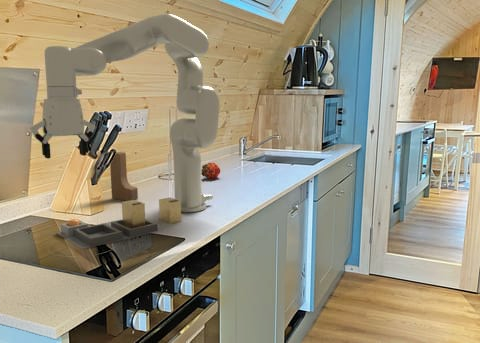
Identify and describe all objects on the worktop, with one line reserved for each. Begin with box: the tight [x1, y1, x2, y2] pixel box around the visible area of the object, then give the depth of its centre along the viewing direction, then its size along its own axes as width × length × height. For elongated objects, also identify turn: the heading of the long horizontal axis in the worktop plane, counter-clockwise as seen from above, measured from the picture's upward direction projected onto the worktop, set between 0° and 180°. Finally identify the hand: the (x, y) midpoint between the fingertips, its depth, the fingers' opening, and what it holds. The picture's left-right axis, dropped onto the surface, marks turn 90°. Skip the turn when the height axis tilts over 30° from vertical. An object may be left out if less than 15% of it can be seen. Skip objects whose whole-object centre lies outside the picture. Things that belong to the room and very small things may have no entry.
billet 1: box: [121, 199, 146, 229], centre depth 132 cm, size 4×6×8 cm, turn 42°
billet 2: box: [158, 197, 182, 225], centre depth 141 cm, size 4×6×8 cm, turn 42°
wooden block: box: [109, 151, 139, 201], centre depth 175 cm, size 9×4×18 cm, turn 70°
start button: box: [68, 218, 80, 226], centre depth 130 cm, size 3×3×2 cm
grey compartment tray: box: [56, 218, 163, 250], centre depth 131 cm, size 24×18×4 cm
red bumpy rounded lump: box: [201, 162, 221, 180], centre depth 216 cm, size 8×8×12 cm
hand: (65, 156), depth 126 cm, fingers open, 9 cm apart
